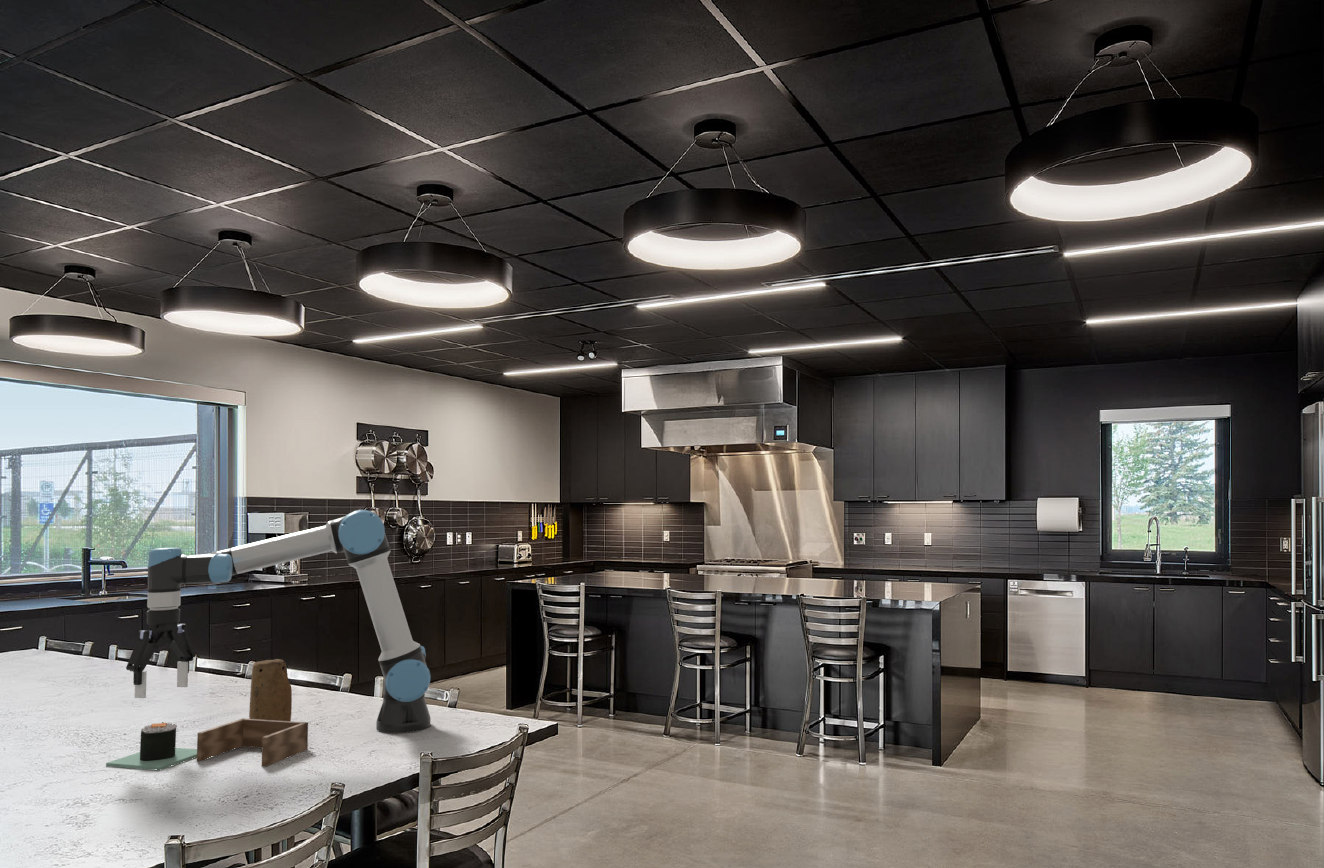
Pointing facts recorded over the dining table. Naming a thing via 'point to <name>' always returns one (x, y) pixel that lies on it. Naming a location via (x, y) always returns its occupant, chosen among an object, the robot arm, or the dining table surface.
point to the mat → (136, 763)
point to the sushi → (158, 741)
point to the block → (270, 691)
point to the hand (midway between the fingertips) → (161, 692)
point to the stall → (255, 738)
